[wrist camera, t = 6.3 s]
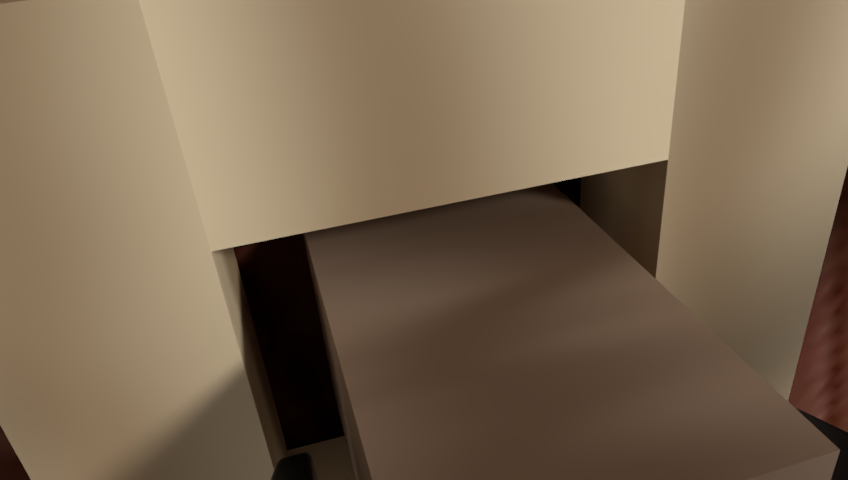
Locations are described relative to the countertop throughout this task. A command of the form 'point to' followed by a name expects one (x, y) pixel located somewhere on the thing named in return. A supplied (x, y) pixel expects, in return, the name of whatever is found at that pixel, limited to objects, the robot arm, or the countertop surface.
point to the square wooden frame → (374, 184)
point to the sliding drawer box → (535, 356)
